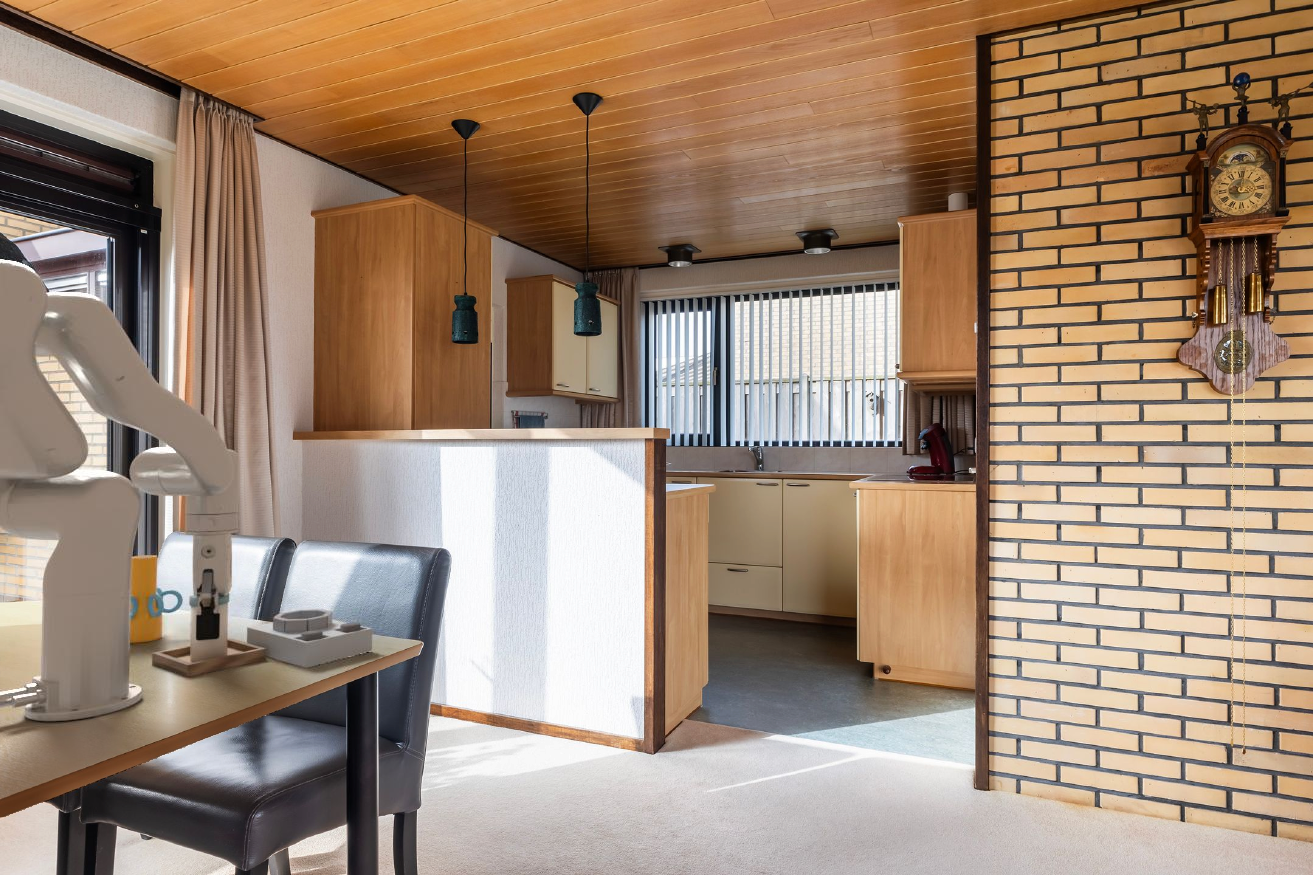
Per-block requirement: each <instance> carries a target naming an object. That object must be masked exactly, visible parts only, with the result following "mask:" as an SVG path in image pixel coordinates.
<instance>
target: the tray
mask: <svg viewBox="0 0 1313 875" xmlns="http://www.w3.org/2000/svg"><path fill="white" fill-rule="evenodd" d="M265 660H267V657H266V648H263V647H259V646H256V645H252V644H249V643H247V642H244V641H241V640H237V639H234V638H230V637H228V640H227V656H222V657H217V658H213V659H208V660H203V661H198V662H191V661H190V645H185V646H181V647H176V648H170V649H165V650H160V651H155V652H152V653H151V664H152V665H153V664H154V665H153V666H156V667H158V668H161V667H162V669H164V670H166V671H169V670H170V672H172V673H175V672H176V673H175V674H178V673H179V674H178V675H180V674H181V675H182V676H183V675H184V677H186V676H190V677H193V675H194V676H199V675H203V674H206V673H211V672H216V671H220V670H224V669H228V667H230V668H234V667H238V666H242V664H243V665H246V664H247V665H248V664H251V663H256V661H257V662H262V661H265ZM202 673H203V674H202Z"/></svg>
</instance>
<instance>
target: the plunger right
mask: <svg viewBox="0 0 1313 875" xmlns="http://www.w3.org/2000/svg"><path fill="white" fill-rule="evenodd" d="M361 626H362V625H361V623H360V622H346V623H345V624H342V625H340V632H344V633H350V632H354V631H359V630H360V628H361Z"/></svg>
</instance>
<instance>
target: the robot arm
mask: <svg viewBox="0 0 1313 875" xmlns="http://www.w3.org/2000/svg"><path fill="white" fill-rule="evenodd" d="M37 357H38V358H39V357H40V358H42V357H49V358H50V357H54V358H55V359H56V360H57V362H58V363H59V364H60V366H61V367H62V369H64V371H65V372H66V374H67V375H68V377H69V378H70V379H71V380H72V382H73V384H74V385H75V386H76V388H77V390H78V391H79V392H80V393H81V395H82V397H84V399H85V401H86V403H88V405H89V406H90V408H91V410H93V411H94V412H95V413H96V414H98V415H100V416H101V417H104V418H106V419H108V420H111V421H113V422H115V423H118V424H121V425H123V426H126V427H129V428H132V429H135V430H138V431H141V432H143V433H145V434H148V435H150V436H152V437H154V438H156V439H157V440H159V441H161V442H163V443H164V444H166V445H167V446H161V447H158V446H157V447H151V448H148V449H146V450H144V451H142V452H140V453H139V454H138V455H137V456H135V458H134V459H133V460H132V462H131V464H130V466H129V467H130V468H129V478H127V477H126V476H125V475H122V474H119V473H116V472H113V471H109V470H108V471H107V470H99V469H98V470H97V469H80V468H81V467H82V466H84V464H85V462H86V461H87V459H88V454H89V443H88V440H87V437H86V435H85V434H84V432H83V430H82V428H81V427H80V424H78V422H77V421H76V419H75V418H74V417H73V416H72V414H71V412H70V410H68V408H67V406H66V405H65V404H64V403H63V401H62V400H61V398H60V397H59V396H58V394H57V392H55V390H54V389H53V387H52V386H51V384H50V383H49V381H48V380H47V378H46V376H45V375H44V374H43V371H42V370H41V368H40V366H39V363H38V360H37ZM140 491H142V492H144V493H146V494H148V495H153V496H162V497H163V496H165V497H180V496H184V497H185V507H184V508H185V509H184V511H185V512H184V513H185V514H184V516H185V517H184V525H185V526H184V535H186V536H193V537H192V539H193V540H192V591H193V592H192V593H193V594H192V595H195V596H196V597H198V612H197V614H198V615H196V640H198V641H200V640H211V639H218V638H219V636H220V613H218V602H219V593H224V595H227V594H228V593H229V594H230V591H231V589H232V587H233V574H232V572H233V571H232V570H233V545H232V544H233V542H232V540H233V539H232V534H236V533H238V532H239V506H240V504H239V502H240V501H239V500H240V499H239V498H240V456H239V454H238V452H237V451H235V450H233V449H228V447H227V445H226V443H225V442H224V440H223V439H222V436H221V434H220V433H219V431H218V430H217V429H216V428H215V426H214V425H213V424H212V423H211V421H210V420H209V419H208V418H206V417H205V416H204V414H202V413H201V412H199V411H198V410H197V409H195V407H193V406H191V405H190V404H189V403H188V402H186V401H185V400H184V399H182V398H180V397H179V396H178V395H176V394H175V393H174V392H172V391H170V390H169V389H166V388H165V387H164V386H162V385H161V384H160V383H158V382H157V380H156V379H155V377H154V376H153V375H152V373H151V371H150V370H149V368H148V367H147V365H146V363H145V362H144V361H143V359H142V357H141V356H140V354H139V353H138V351H137V349H136V348H135V346H134V345H133V343H132V341H131V339H130V338H129V336H128V334H127V333H126V331H125V330H124V329H123V326H122V325H121V324H120V322H119V320H118V319H117V316H116V315H115V314H114V313H113V310H111V308H110V307H109V306H108V304H106V303H105V302H104V301H103V300H102V299H100V298H98V297H97V296H94V295H92V294H88V293H83V292H68V291H67V292H47V287H46V286H45V283H44V281H43V279H42V278H41V276H40V275H39V274H38V273H37V272H36V271H35V270H34V269H33V268H31V267H29V266H28V265H25V264H22V263H21V262H17V261H13V260H5V259H0V529H2V530H3V531H4V532H6V533H8V534H10V535H12V536H14V537H16V538H21V539H24V540H25V539H26V540H35V541H36V540H37V541H38V540H39V541H41V540H42V541H57V544H56V546H55V548H54V550H53V551H52V553H51V554H50V555H51V556H50V557H49V559H48V561H47V563H46V566H45V569H44V572H43V578H42V611H41V612H42V616H41V618H42V619H41V651H40V652H41V656H40V658H41V660H40V661H41V662H40V675H38V676H33V677H32V682H31V683H28V684H25V685H23V688H16V689H7V690H4V691H0V708H1V709H2V708H6V707H10V706H11V707H12V709H15V708H20V707H24V713H23V714H24V716H25V718H27V719H29V720H33V721H39V722H62V721H63V722H64V721H72V720H73V721H74V720H80V719H88V718H92V717H97V716H103V715H106V714H109V713H110V714H111V713H113V712H117V711H120V710H123V709H125V708H129V707H130V706H133V705H135V704H136V703H138V702H139V701H141V699H142V698H143V694H144V693H143V688H142V687H141V686H140V685H137V684H134V683H130V660H131V657H130V652H131V643H130V613H131V568H132V557H133V554H134V553H133V551H134V545H135V539H136V535H137V530H138V528H139V525H140V524H139V523H140V520H141V515H142V509H143V508H142V507H143V502H142V501H143V500H142V496H141V493H140ZM211 592H216V594H211ZM213 599H214V600H213Z"/></svg>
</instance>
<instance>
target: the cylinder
mask: <svg viewBox="0 0 1313 875" xmlns="http://www.w3.org/2000/svg"><path fill="white" fill-rule="evenodd" d="M157 578H158V555H156V554H155V555H152V554H151V555H149V554H148V555H146V554H145V555H135V556H132V568H131V613H130V644H138V643H139V644H140V643H147V642H153V641H157V640H159V639H161V638H162V637H163V613H165V614H172V613H175V612H176V611H178V610H179V609H180V608H181V607H182V606H183V603H184V602H183V601H184V599H183V595H182V594H181V593H180V592H179V591H177V590H175V589H167V590H166V589H165V590H164V591H163V590H162V589H161V588H160V587H157V583H158V581H157V580H158V579H157ZM167 595H173V596H175V597H176V599H177V603H176V605H174V606H173V607H171V608H165V603H164V602H165V601H164V597H165V596H167Z"/></svg>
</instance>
